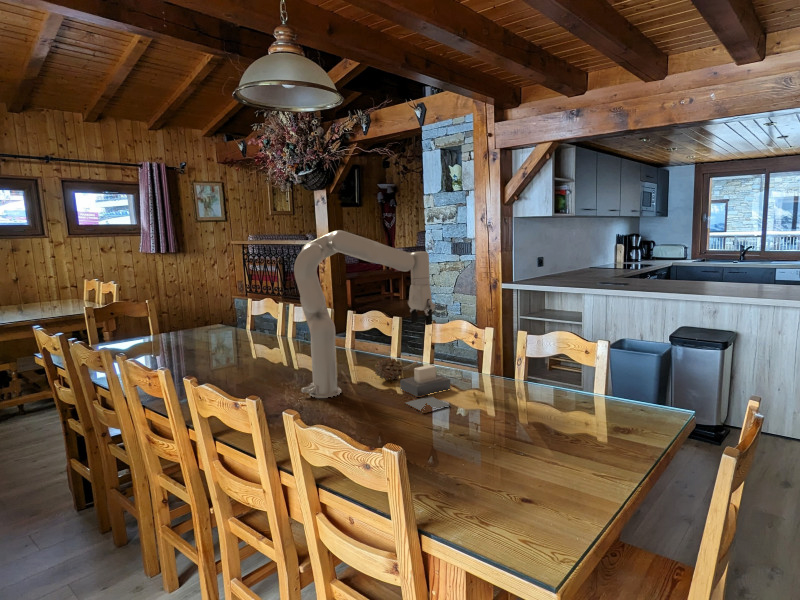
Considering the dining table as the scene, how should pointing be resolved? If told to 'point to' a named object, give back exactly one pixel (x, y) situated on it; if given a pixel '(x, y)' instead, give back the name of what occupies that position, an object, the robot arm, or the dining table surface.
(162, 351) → the dining table surface
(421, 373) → the cream upright block
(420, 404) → the mat
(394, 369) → the pine cone
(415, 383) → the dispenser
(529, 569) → the dining table surface
